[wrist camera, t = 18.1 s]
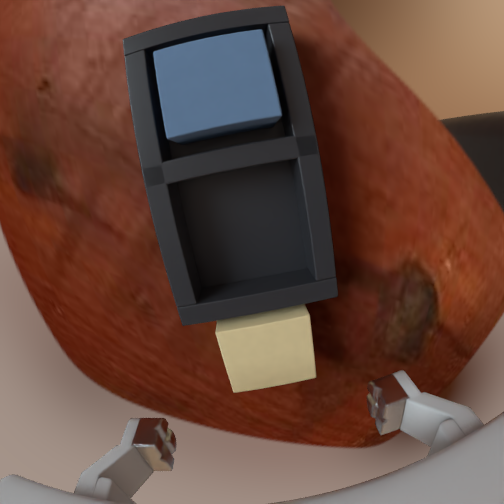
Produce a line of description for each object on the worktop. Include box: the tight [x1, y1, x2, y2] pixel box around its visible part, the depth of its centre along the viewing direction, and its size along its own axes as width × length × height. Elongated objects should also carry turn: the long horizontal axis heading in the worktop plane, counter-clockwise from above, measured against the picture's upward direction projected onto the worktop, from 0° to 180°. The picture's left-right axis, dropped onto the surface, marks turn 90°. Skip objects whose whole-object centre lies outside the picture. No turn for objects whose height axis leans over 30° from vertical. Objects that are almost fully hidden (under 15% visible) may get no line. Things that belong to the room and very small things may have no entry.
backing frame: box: [123, 6, 338, 326], centre depth 13 cm, size 8×14×3 cm, turn 11°
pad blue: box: [153, 29, 282, 145], centre depth 11 cm, size 4×4×3 cm
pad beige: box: [216, 304, 316, 393], centre depth 16 cm, size 4×4×3 cm
